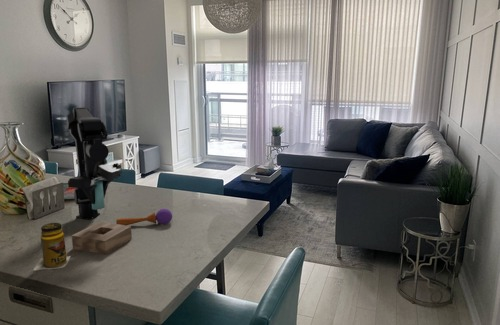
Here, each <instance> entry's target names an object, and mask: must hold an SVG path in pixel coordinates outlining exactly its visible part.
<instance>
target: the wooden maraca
mask: <svg viewBox="0 0 500 325" xmlns="http://www.w3.org/2000/svg"><path fill="white" fill-rule="evenodd" d="M172 218H173V214H172V211H171V210H169V209H168V208H161V209H159V210H157V212H156V213H155V211H154V212H152V213H151V214H149V215H148V216H146V217H129V218H127V217H125V218H123V217H122V218H115V219H116V223H115V224H119V225H126V226H131V225H134V224H137V223H142V222H145V221H147V222H150V223H153V224H157V223H158V224H160V225H163V226H164V225H168V224H169V223H171V221H172Z"/></svg>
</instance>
